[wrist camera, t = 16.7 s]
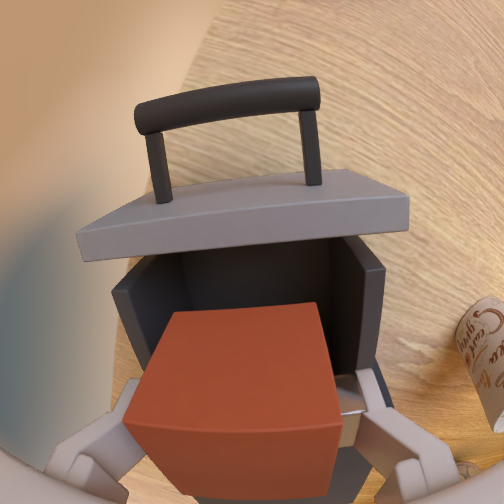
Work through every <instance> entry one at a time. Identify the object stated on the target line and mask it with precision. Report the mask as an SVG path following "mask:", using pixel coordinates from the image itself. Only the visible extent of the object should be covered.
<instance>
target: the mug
mask: <svg viewBox="0 0 504 504" xmlns="http://www.w3.org/2000/svg"><path fill="white" fill-rule="evenodd" d="M455 342H456V345H457V348H458V350H459V352H460V354H461V356H462V359H463V361H464V363H465V365H466V367H467V369H468V372H469V374H470V376H471V379H472V381H473V383H474V386H475V388H476V390H477V393H478V395H479V398H480V400H481V403H482V406H483V408H484V411H485V414H486V416H487V419H488V422H489V425H490V427H491V429H492V431H493V432H494V433H501V432H504V302H503V301H502V300H500V299H498V298H496V297H486V298H484V299H482V300H480V301H478V302H477V303H476V304H475V305H473V306H472V307H471V308H470V309H469V311H468V312H467V313H466V314H465V316H464V317H463V319H462V320H461V322H460V324H459V326H458V329H457V332H456V337H455Z"/></svg>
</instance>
